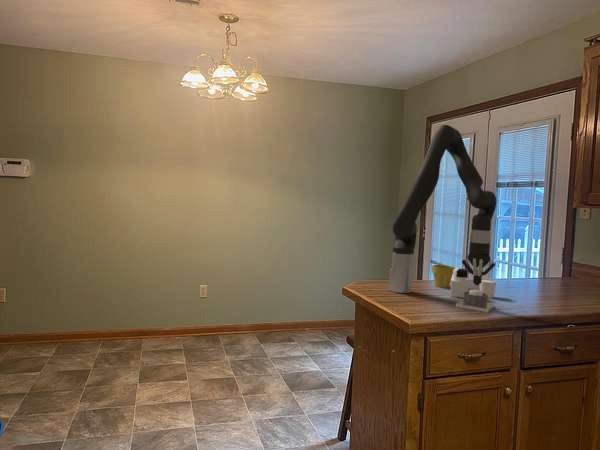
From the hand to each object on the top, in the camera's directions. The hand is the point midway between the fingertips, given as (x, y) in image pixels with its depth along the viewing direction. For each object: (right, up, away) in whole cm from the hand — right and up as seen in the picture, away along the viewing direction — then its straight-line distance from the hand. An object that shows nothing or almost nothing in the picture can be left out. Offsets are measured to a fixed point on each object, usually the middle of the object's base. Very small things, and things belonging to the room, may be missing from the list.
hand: (476, 284), depth 180 cm
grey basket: (-1, -9, +1) cm, 9 cm away
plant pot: (-1, -6, +40) cm, 41 cm away
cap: (-1, -8, 0) cm, 8 cm away
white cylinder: (+12, -8, +21) cm, 26 cm away
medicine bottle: (0, -8, +19) cm, 21 cm away
